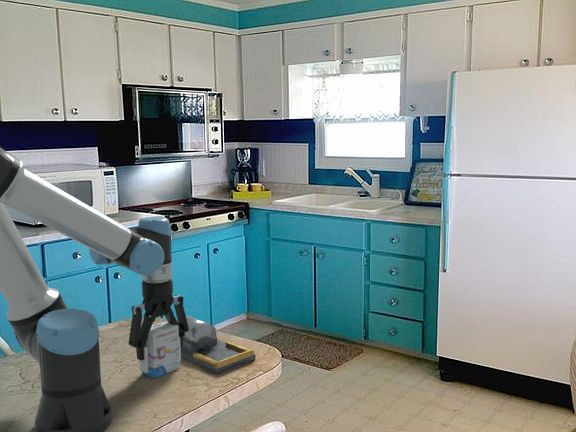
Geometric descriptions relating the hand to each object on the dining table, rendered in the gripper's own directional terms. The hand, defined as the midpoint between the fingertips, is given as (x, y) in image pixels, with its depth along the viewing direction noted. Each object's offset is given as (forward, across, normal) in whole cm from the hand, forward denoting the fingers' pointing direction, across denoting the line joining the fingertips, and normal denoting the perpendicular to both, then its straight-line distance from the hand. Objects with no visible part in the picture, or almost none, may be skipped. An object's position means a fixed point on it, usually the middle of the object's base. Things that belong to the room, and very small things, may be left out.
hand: (160, 365), depth 150 cm
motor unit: (+1, +15, 0) cm, 15 cm away
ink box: (+2, 0, 0) cm, 2 cm away
